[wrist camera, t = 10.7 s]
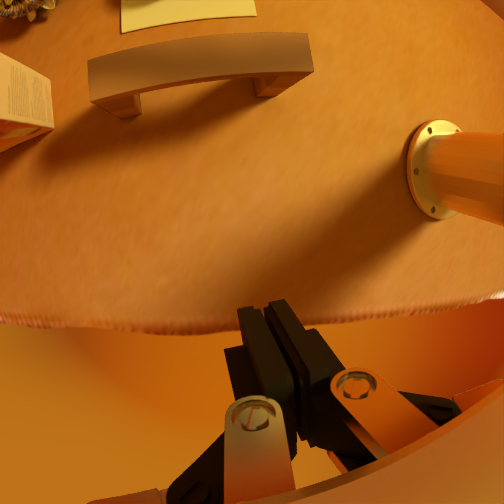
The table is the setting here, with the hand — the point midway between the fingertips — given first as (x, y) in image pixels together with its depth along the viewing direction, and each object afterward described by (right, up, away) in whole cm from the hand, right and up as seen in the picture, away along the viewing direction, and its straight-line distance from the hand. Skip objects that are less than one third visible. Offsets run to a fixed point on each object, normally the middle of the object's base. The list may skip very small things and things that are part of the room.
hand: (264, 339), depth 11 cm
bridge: (-5, +18, +14) cm, 23 cm away
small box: (-23, +16, +11) cm, 30 cm away
